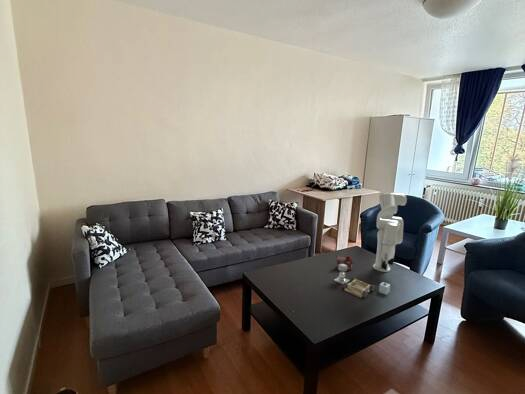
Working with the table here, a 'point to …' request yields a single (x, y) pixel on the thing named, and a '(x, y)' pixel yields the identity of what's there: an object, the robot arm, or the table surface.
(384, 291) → the block
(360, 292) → the birch chassis
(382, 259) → the robot arm
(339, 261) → the toy fire truck
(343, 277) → the grey square pedestal base
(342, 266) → the wheel hub
